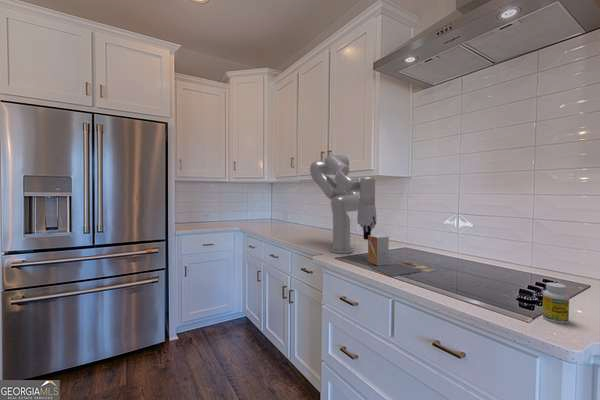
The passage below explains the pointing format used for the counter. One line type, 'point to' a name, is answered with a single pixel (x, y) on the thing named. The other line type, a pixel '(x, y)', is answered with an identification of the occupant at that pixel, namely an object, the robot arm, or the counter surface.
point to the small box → (378, 249)
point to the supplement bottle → (556, 303)
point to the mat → (395, 269)
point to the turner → (418, 266)
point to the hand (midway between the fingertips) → (367, 239)
